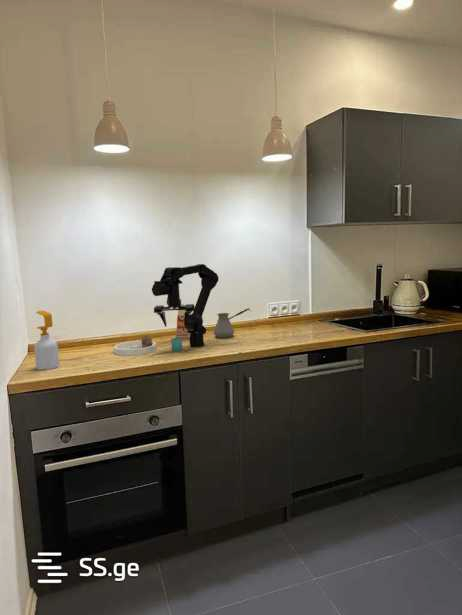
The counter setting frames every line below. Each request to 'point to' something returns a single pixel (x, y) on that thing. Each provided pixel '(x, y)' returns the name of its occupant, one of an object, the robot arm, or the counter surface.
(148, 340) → the walnut bead
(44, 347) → the soap bottle
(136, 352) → the dish
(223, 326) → the coffee pot
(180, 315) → the red figurine
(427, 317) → the counter surface
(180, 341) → the teal bead
